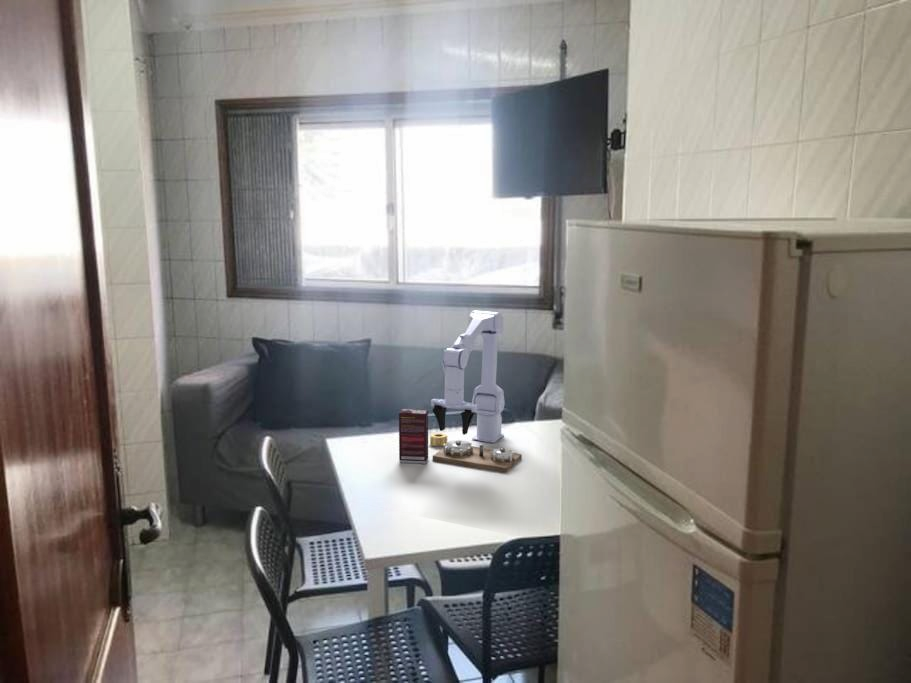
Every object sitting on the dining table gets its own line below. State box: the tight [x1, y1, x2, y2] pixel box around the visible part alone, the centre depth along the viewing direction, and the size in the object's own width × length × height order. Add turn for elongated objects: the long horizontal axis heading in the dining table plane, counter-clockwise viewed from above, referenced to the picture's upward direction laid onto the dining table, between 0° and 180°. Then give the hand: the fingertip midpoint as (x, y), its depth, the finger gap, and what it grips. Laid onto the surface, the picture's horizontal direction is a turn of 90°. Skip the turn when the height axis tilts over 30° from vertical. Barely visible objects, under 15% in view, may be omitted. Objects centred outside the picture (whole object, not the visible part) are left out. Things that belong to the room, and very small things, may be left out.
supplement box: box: [398, 408, 429, 465], centre depth 230 cm, size 9×5×16 cm, turn 84°
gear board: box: [432, 439, 522, 474], centre depth 233 cm, size 14×24×5 cm, turn 66°
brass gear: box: [429, 432, 448, 447], centre depth 247 cm, size 6×6×3 cm
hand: (453, 431), depth 228 cm, fingers open, 7 cm apart
